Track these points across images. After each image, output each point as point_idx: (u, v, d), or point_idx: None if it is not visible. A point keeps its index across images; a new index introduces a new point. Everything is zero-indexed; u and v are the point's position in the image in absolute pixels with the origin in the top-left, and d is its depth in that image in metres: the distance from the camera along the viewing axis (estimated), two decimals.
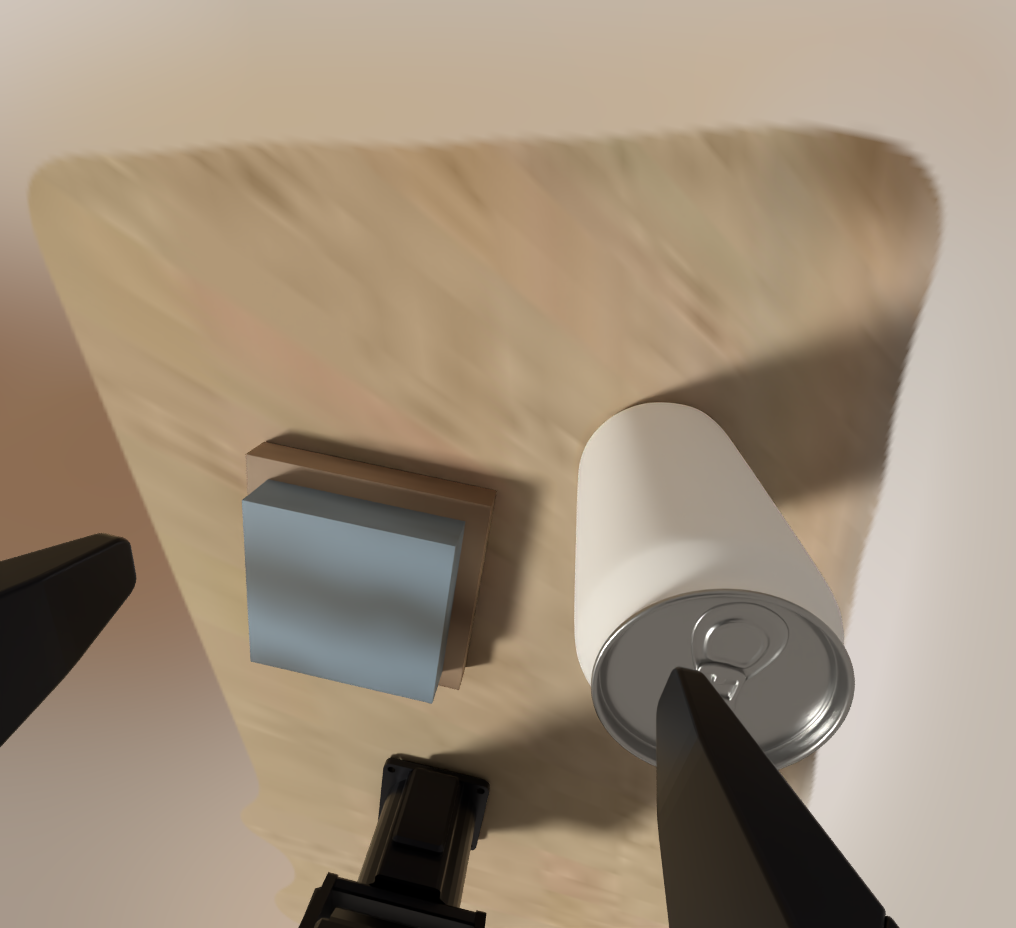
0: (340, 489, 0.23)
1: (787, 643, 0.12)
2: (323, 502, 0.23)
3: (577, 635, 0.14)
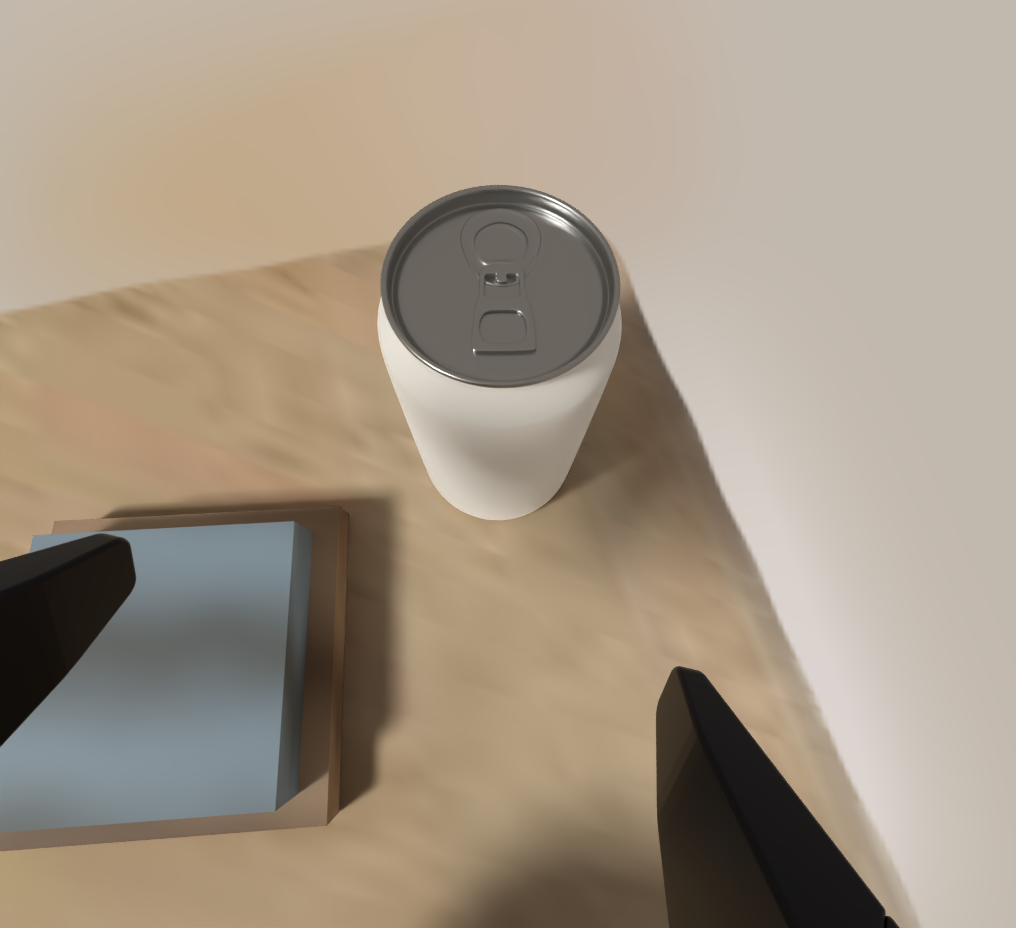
0: None
1: (539, 232, 0.13)
2: None
3: (379, 334, 0.14)
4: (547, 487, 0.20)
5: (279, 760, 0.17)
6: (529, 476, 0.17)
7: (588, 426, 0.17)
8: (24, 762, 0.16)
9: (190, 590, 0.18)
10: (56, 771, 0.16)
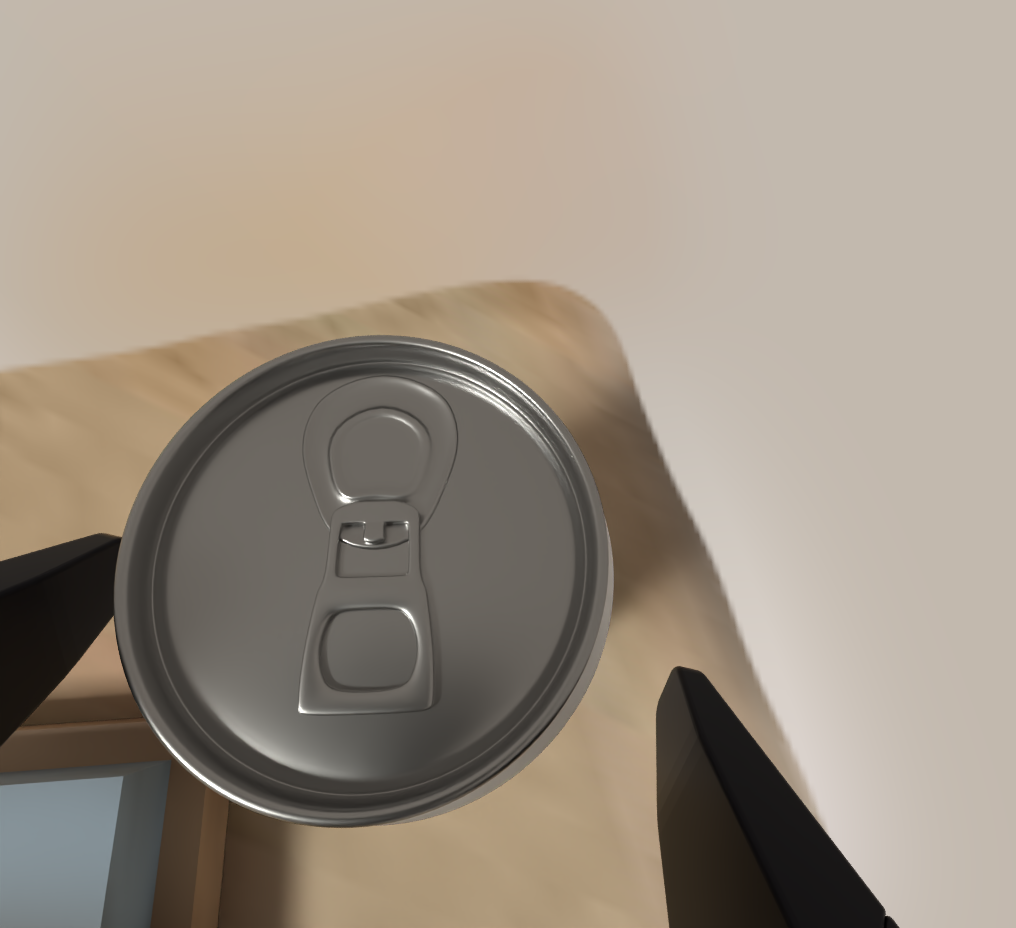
0: None
1: (455, 426, 0.07)
2: None
3: None
4: None
5: None
6: None
7: None
8: None
9: None
10: None
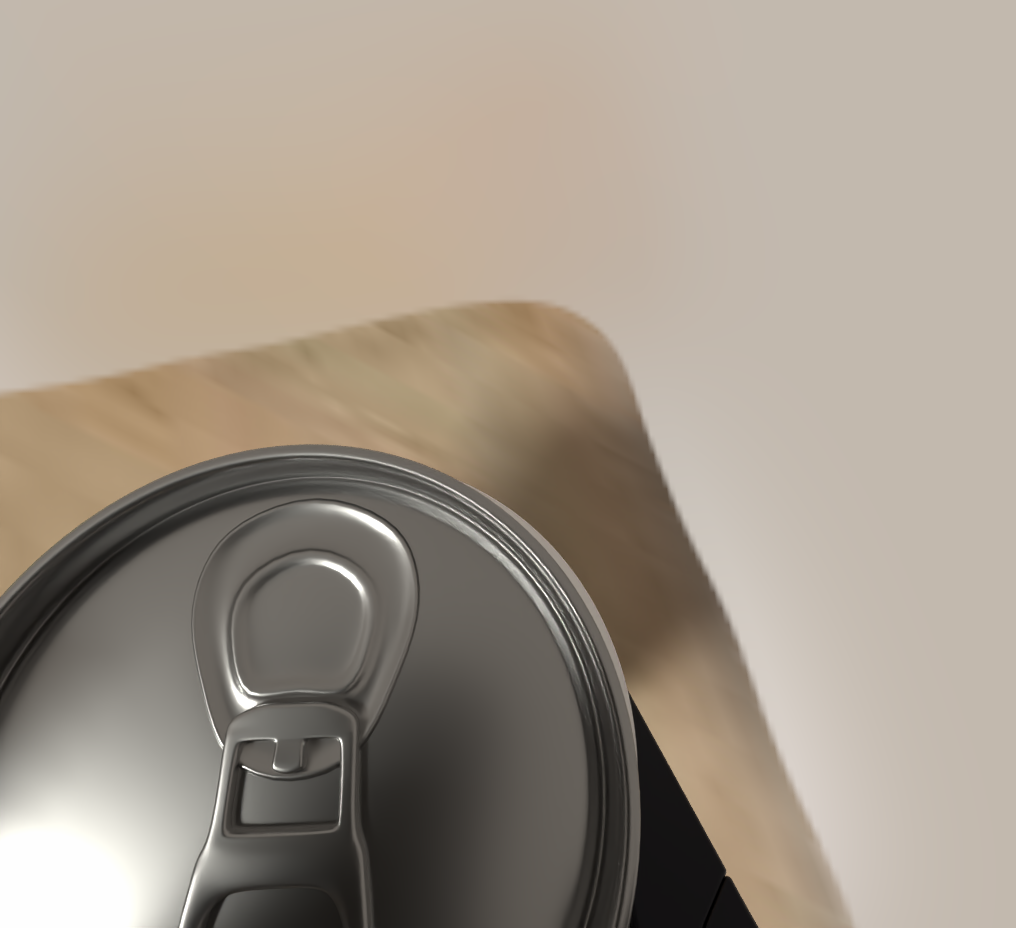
0: None
1: (416, 578, 0.05)
2: None
3: None
4: None
5: None
6: None
7: None
8: None
9: None
10: None
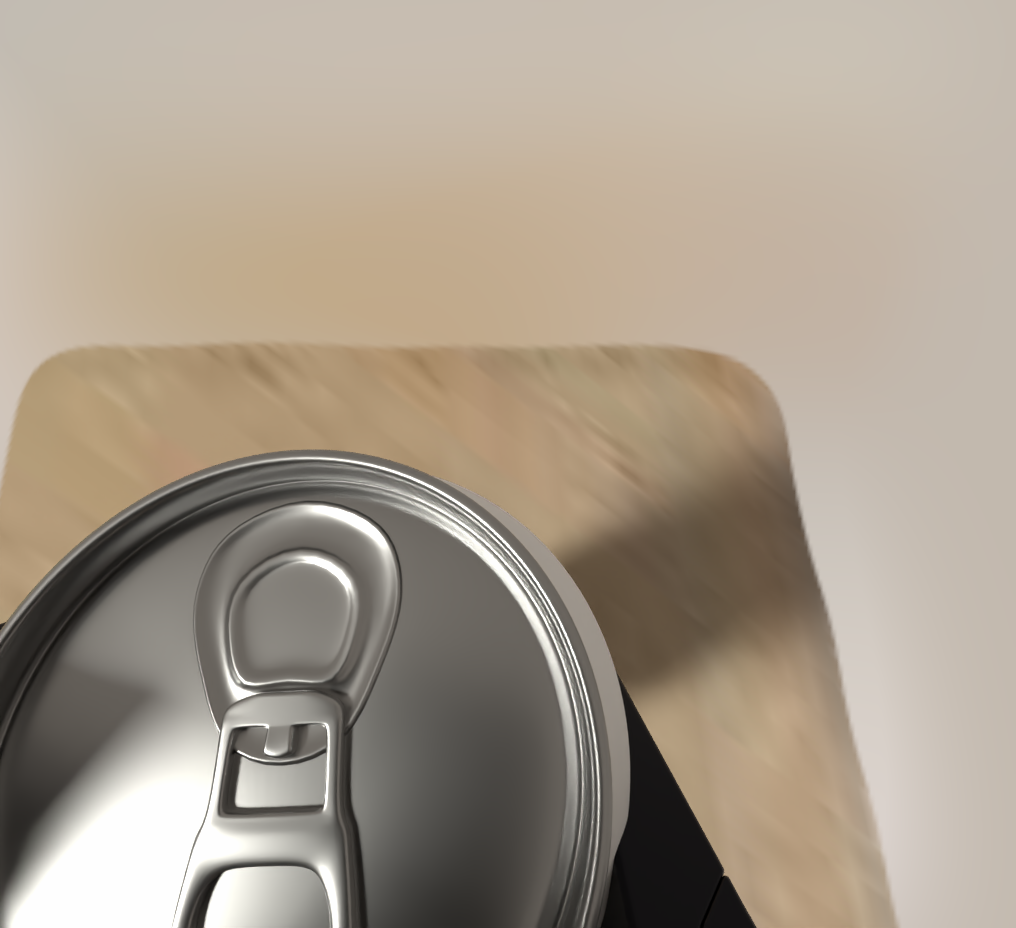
0: None
1: (399, 573, 0.05)
2: None
3: None
4: None
5: None
6: None
7: None
8: None
9: None
10: None
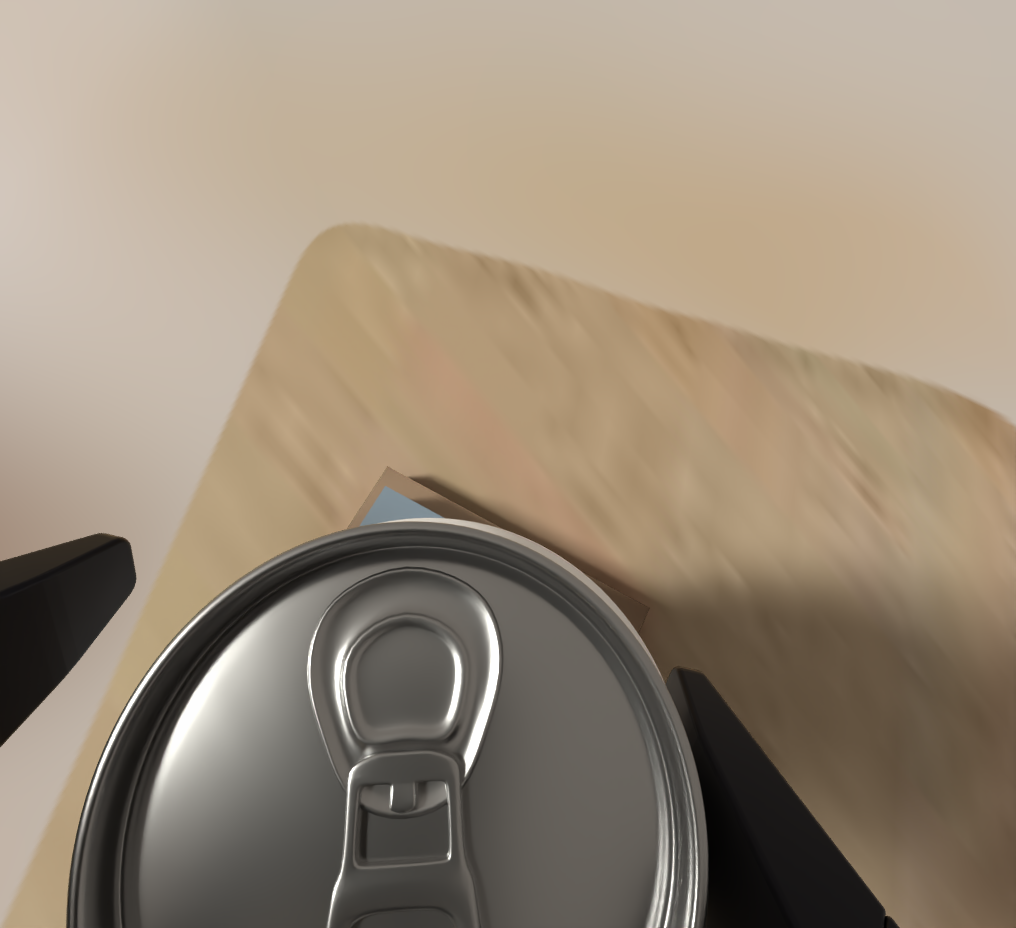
0: None
1: (499, 636, 0.06)
2: None
3: None
4: None
5: None
6: None
7: None
8: None
9: None
10: None
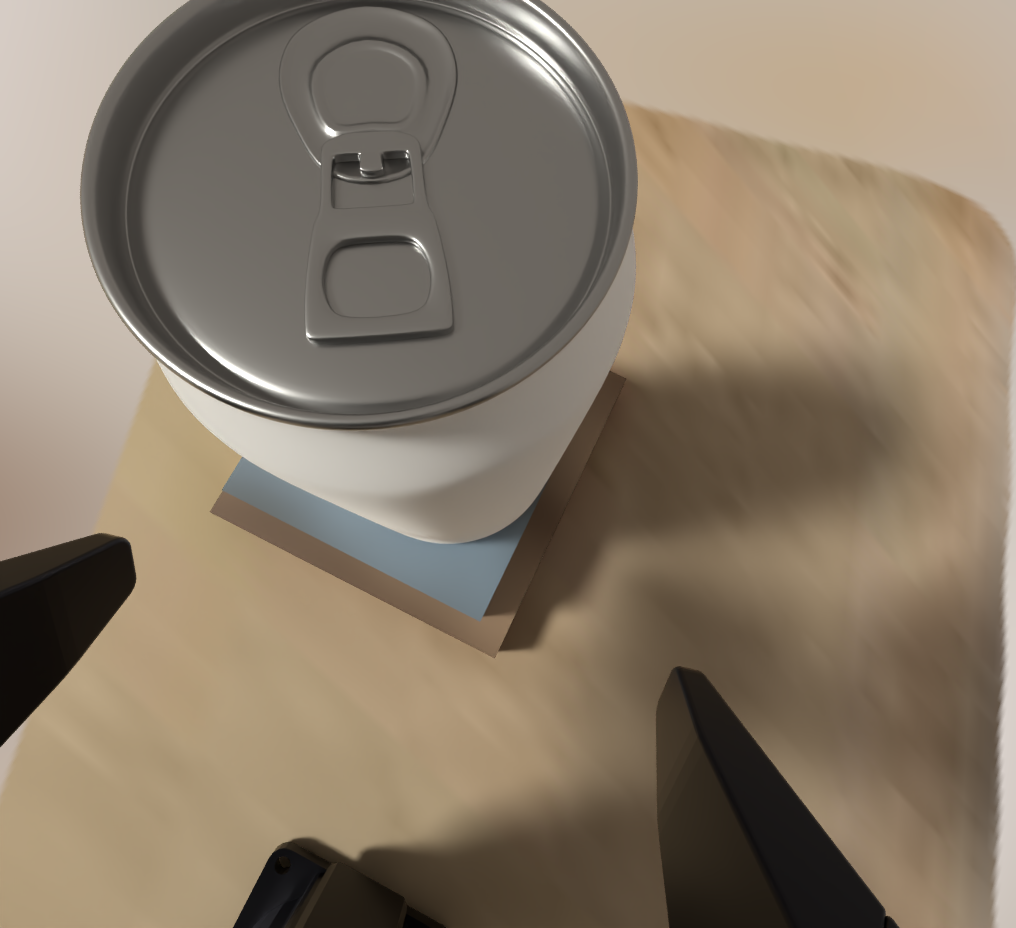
0: None
1: (453, 55, 0.06)
2: None
3: None
4: (519, 510, 0.13)
5: (500, 580, 0.16)
6: (485, 517, 0.10)
7: None
8: None
9: None
10: None
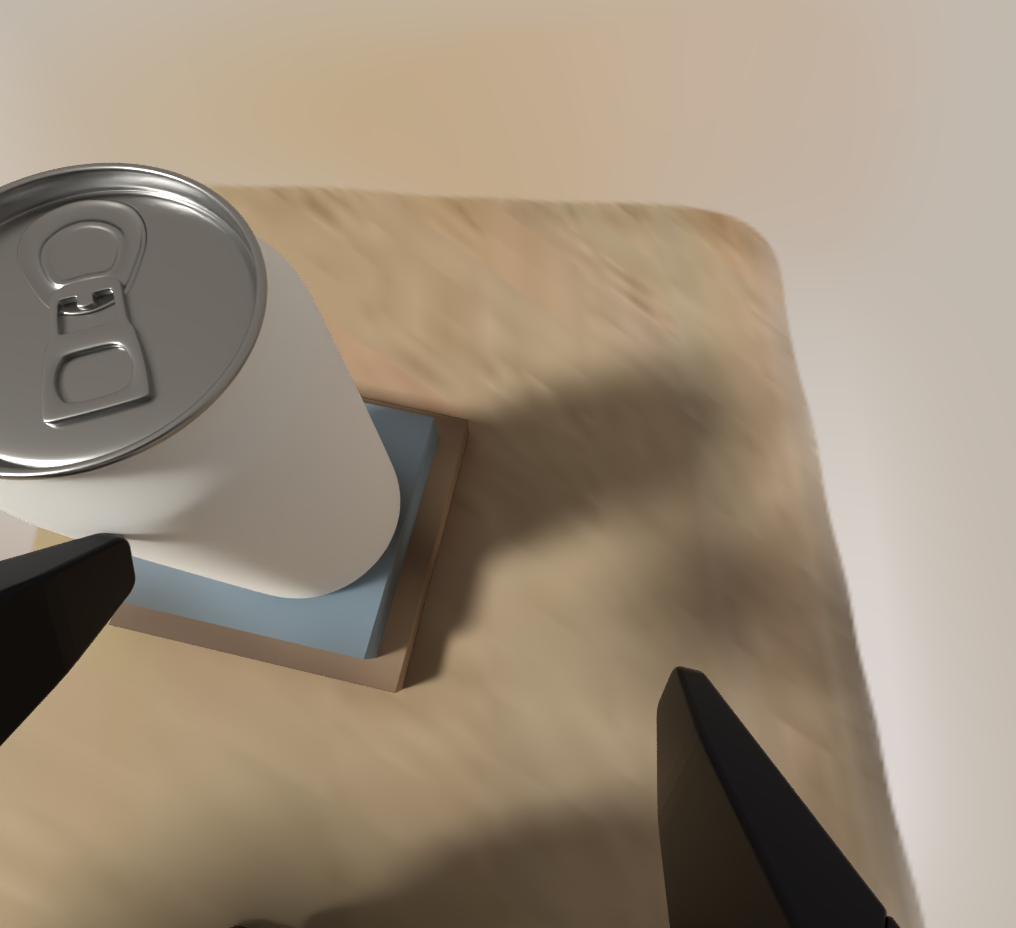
0: None
1: (142, 222, 0.09)
2: None
3: None
4: (355, 544, 0.15)
5: (376, 617, 0.18)
6: (298, 548, 0.13)
7: (362, 461, 0.13)
8: None
9: None
10: None
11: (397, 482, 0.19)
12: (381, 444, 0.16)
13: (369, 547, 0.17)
